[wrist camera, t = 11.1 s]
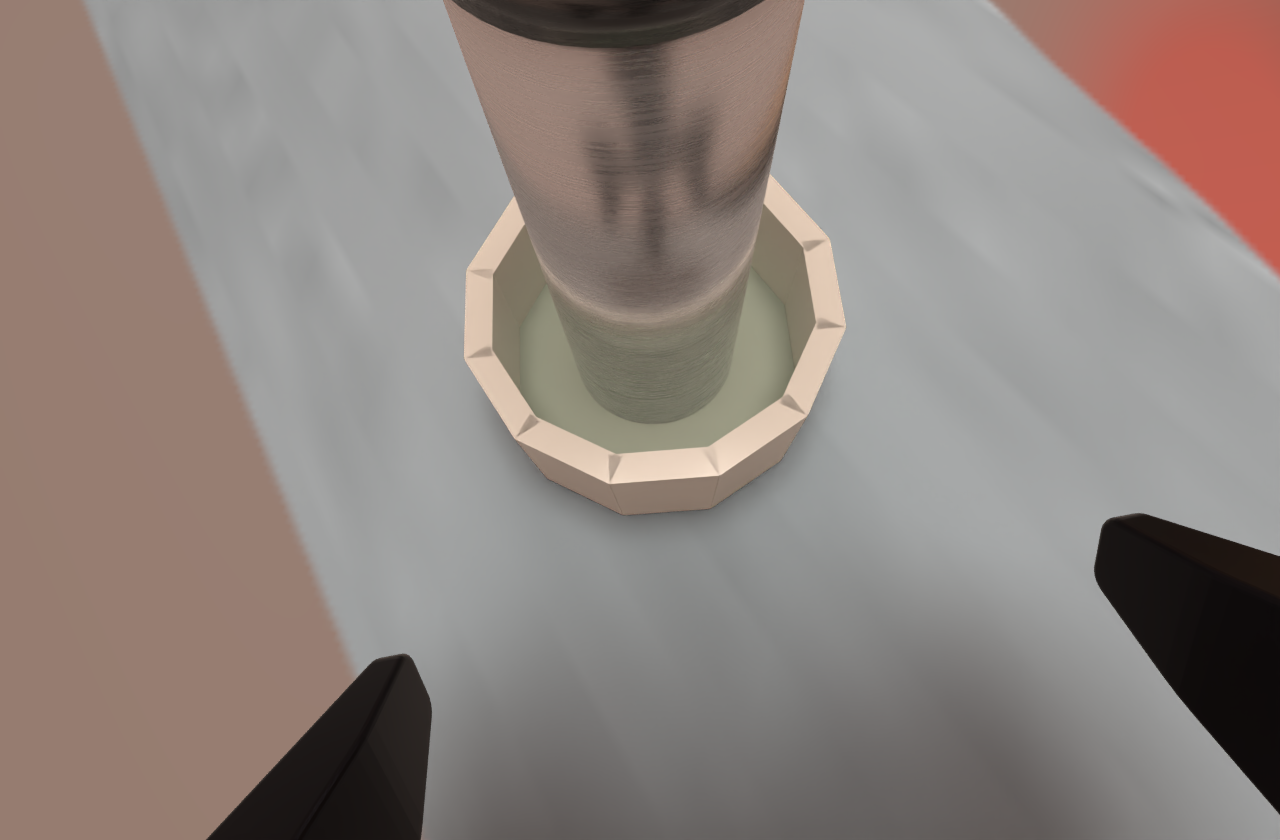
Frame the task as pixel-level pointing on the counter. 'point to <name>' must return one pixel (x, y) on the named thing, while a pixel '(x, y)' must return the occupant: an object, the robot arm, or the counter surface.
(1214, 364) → the counter surface
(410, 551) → the counter surface
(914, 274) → the counter surface
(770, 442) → the bowl
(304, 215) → the counter surface
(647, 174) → the canister
